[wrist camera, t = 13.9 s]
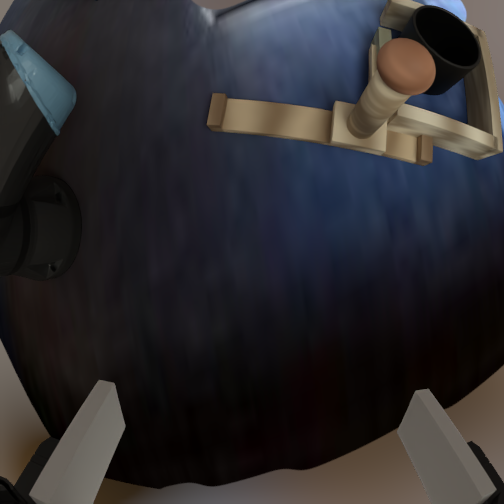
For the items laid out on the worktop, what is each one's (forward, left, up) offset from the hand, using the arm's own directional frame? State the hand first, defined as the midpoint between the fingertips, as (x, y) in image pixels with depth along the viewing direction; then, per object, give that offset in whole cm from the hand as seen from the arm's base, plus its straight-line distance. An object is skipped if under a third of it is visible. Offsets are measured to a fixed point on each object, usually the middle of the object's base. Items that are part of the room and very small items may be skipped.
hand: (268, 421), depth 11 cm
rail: (+2, +20, -24) cm, 31 cm away
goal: (+16, +31, -24) cm, 42 cm away
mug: (+14, +32, -24) cm, 43 cm away
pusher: (+6, +26, -24) cm, 36 cm away
